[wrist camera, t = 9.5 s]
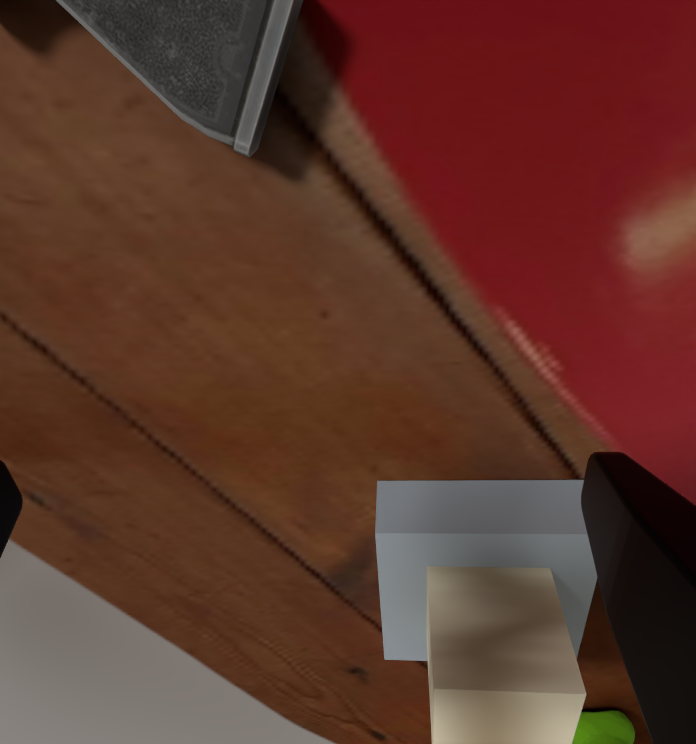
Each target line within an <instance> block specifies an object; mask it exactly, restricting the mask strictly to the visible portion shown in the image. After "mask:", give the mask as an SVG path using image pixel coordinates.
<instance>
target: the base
mask: <svg viewBox="0 0 696 744" xmlns="http://www.w3.org/2000/svg"><path fill="white" fill-rule="evenodd" d="M583 483H584V480H465V481H377V503H376V527H375V537H376V550H377V564H378V577H379V591H380V604H381V618H382V631H383V645H384V658H385V660H417V661H428V653H427V566H439V567H513V568H550V569H551V572H552V576H553V579H554V583H555V586H556V590H557V593H558V597H559V600H560V604H561V607H562V611H563V614H564V618H565V621H566V625H567V628H568V632H569V635H570V639H571V642H572V646H573V649H574V653H575V656H576V659H577V655H578V651H579V648H580V644H581V640H582V636H583V632H584V628H585V624H586V620H587V616H588V612H589V608H590V605H591V601H592V597H593V593H594V589H595V585H596V581H597V573H596V569H595V564H594V560H593V556H592V552H591V547H590V543H589V539H588V535H587V530H586V526H585V522H584V518H583V513H582V508H581V492H582V487H583Z"/></svg>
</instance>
